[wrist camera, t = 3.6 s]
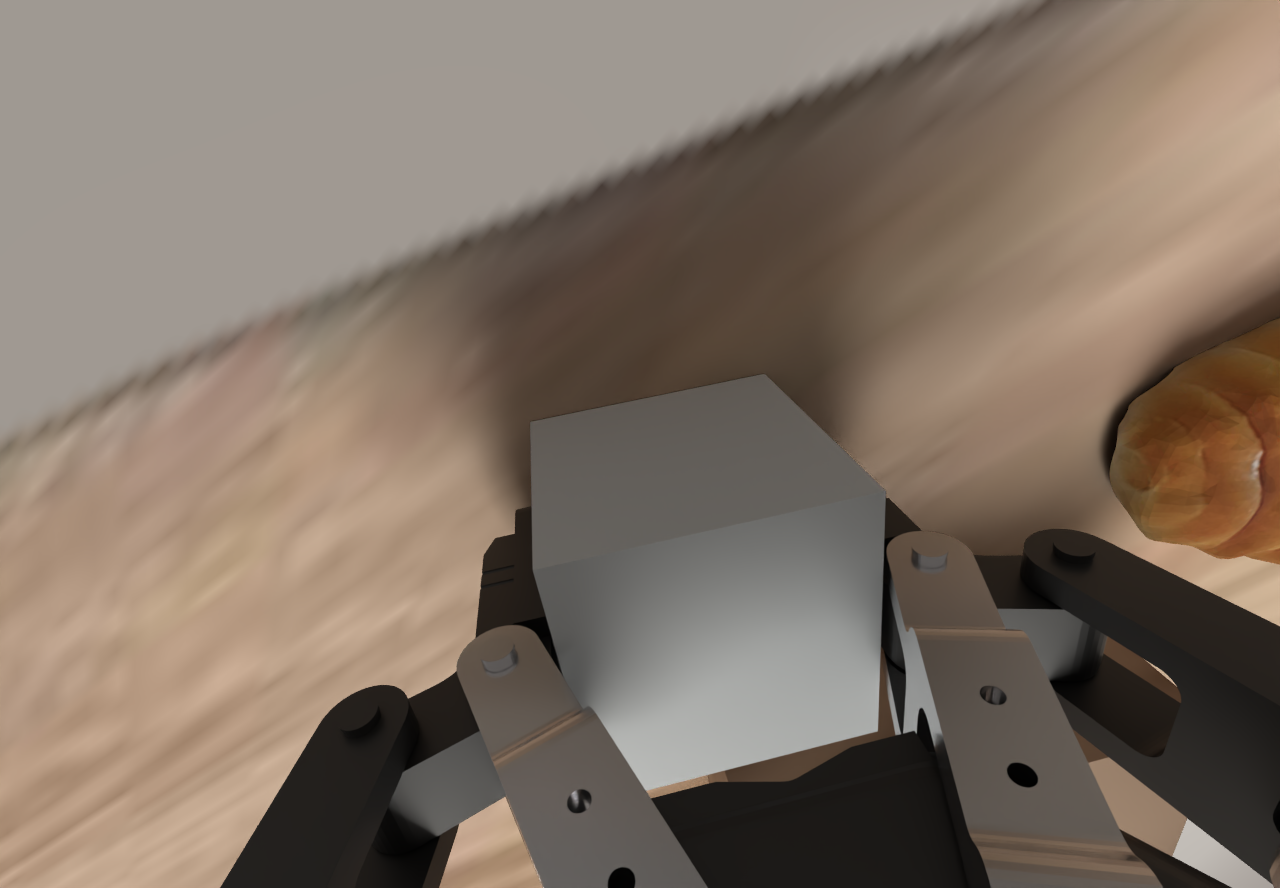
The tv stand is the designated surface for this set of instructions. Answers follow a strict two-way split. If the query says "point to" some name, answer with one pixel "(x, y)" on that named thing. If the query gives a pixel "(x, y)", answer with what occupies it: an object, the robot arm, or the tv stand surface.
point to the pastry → (1208, 451)
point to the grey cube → (709, 576)
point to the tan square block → (1122, 791)
